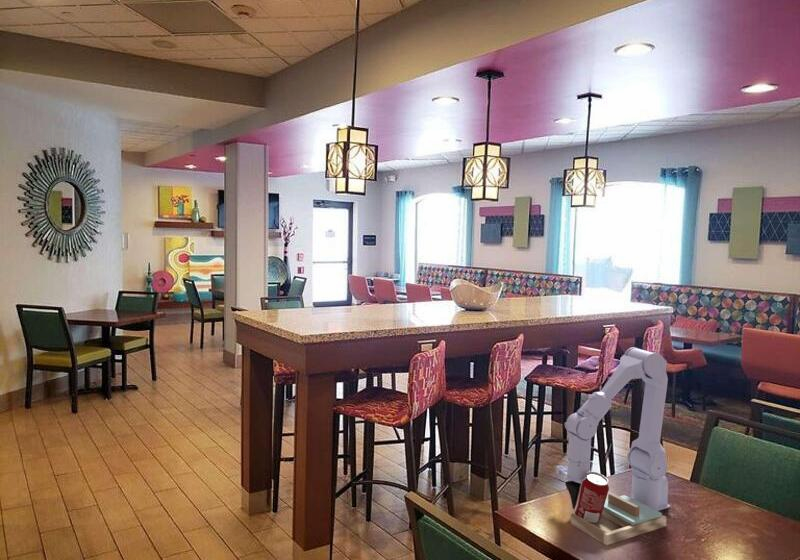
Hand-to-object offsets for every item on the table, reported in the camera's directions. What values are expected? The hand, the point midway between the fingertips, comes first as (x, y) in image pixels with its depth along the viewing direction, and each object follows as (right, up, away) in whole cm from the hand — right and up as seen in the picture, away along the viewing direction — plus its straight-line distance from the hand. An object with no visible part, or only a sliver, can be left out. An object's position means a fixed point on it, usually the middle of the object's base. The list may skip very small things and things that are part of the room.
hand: (576, 508), depth 155 cm
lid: (+13, +1, -3) cm, 13 cm away
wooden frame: (+9, -2, -5) cm, 10 cm away
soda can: (+2, -1, -3) cm, 4 cm away
